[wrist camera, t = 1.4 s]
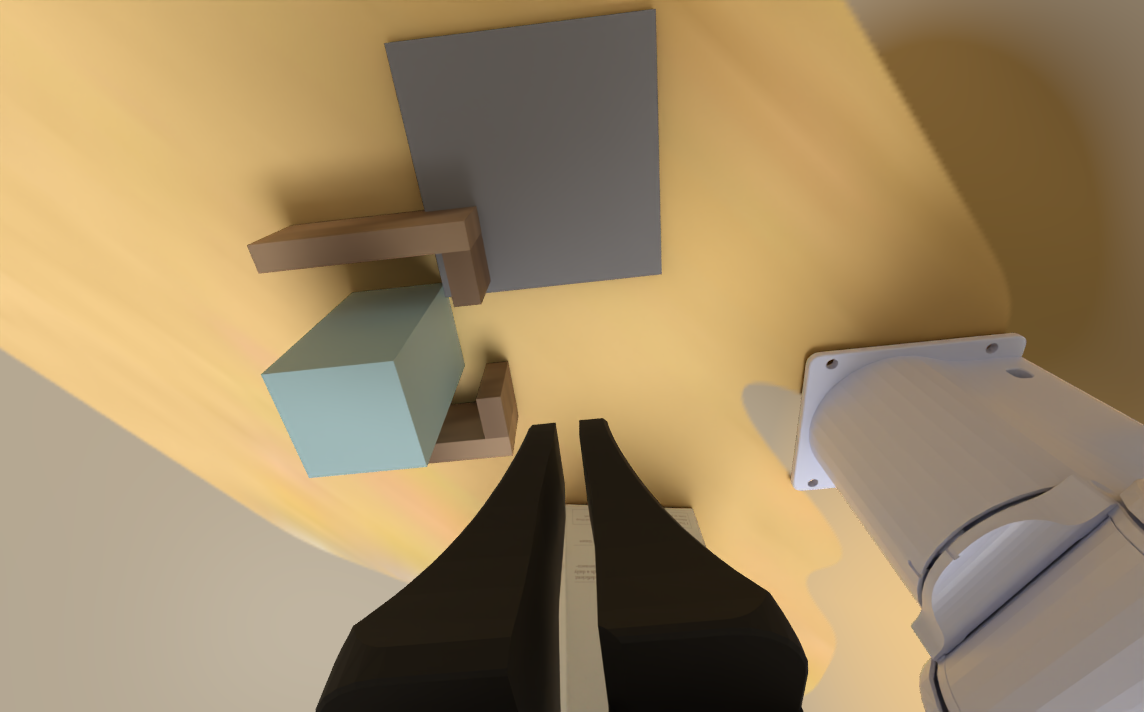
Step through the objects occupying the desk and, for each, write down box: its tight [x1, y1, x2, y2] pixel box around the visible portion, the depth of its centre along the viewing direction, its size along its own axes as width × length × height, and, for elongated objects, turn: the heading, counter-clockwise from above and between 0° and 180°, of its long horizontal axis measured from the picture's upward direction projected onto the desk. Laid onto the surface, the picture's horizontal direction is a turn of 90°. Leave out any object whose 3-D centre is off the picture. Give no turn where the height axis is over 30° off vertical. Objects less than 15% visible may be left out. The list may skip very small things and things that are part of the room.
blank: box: [261, 283, 465, 478], centre depth 18 cm, size 4×4×7 cm
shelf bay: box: [247, 206, 518, 464], centre depth 20 cm, size 8×10×3 cm
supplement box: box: [559, 504, 706, 712], centre depth 22 cm, size 7×7×13 cm
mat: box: [384, 9, 662, 297], centre depth 18 cm, size 9×9×1 cm
